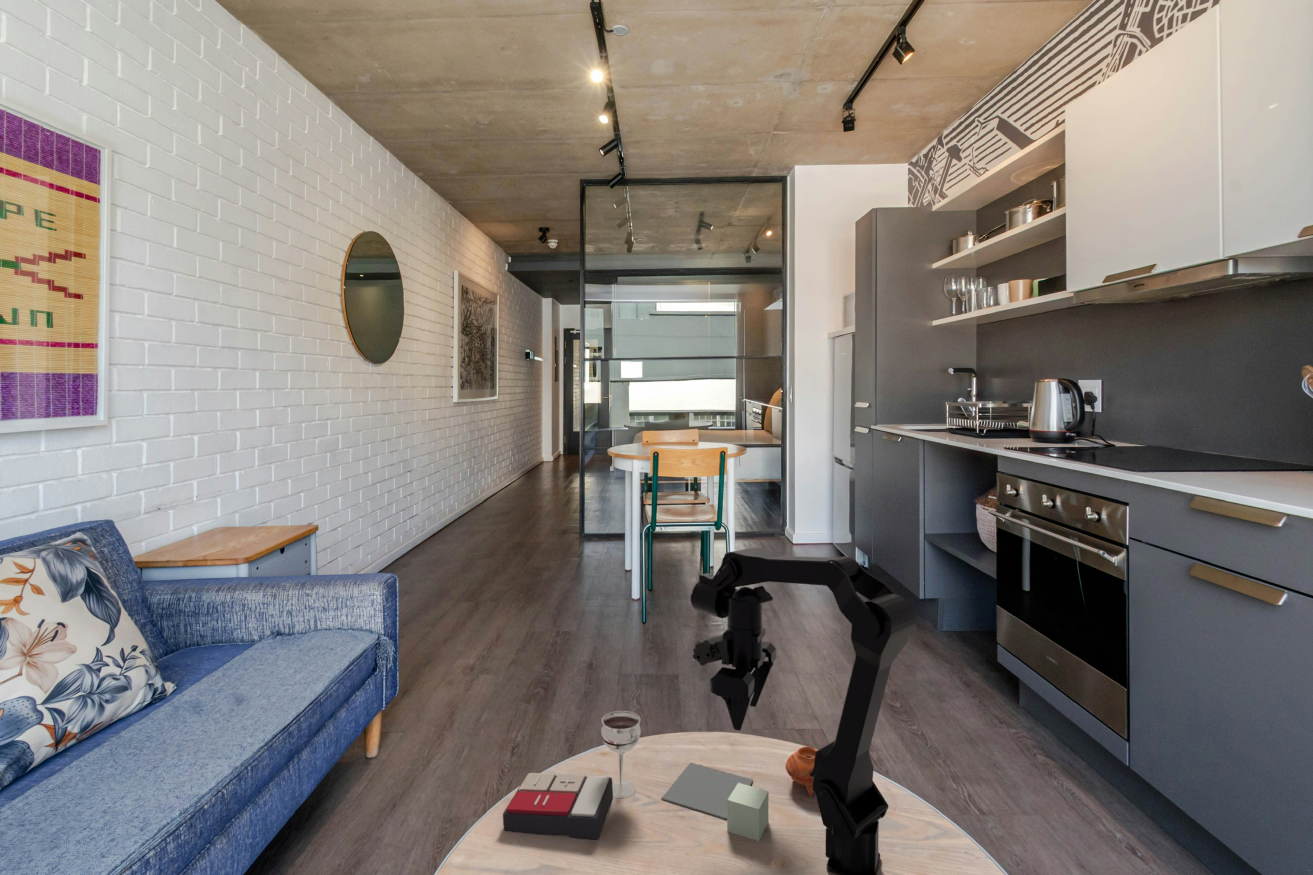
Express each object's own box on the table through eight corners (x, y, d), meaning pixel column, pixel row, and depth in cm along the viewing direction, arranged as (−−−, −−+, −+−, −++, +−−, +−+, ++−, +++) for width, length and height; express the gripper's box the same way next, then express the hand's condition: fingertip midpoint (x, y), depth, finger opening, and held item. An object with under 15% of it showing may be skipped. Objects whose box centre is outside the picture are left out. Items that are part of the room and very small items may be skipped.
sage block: (768, 822, 96) (768, 791, 96) (758, 841, 92) (758, 809, 92) (738, 812, 99) (738, 782, 98) (727, 831, 94) (727, 799, 94)
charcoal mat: (753, 780, 107) (753, 779, 107) (729, 820, 96) (729, 819, 96) (690, 763, 113) (690, 762, 113) (661, 799, 102) (661, 797, 102)
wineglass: (639, 801, 101) (639, 730, 101) (598, 801, 101) (598, 729, 101) (641, 777, 108) (641, 710, 108) (603, 777, 108) (603, 710, 108)
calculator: (526, 769, 105) (612, 772, 103) (528, 794, 105) (613, 797, 103) (501, 809, 94) (596, 813, 92) (502, 837, 94) (598, 842, 92)
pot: (841, 799, 101) (831, 760, 101) (794, 807, 102) (785, 768, 102) (832, 770, 109) (823, 734, 109) (788, 778, 110) (780, 742, 110)
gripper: (717, 604, 114) (717, 687, 114) (678, 635, 97) (679, 733, 97) (776, 611, 109) (776, 698, 110) (747, 645, 92) (747, 747, 93)
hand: (745, 717), depth 102 cm, fingers open, 9 cm apart
